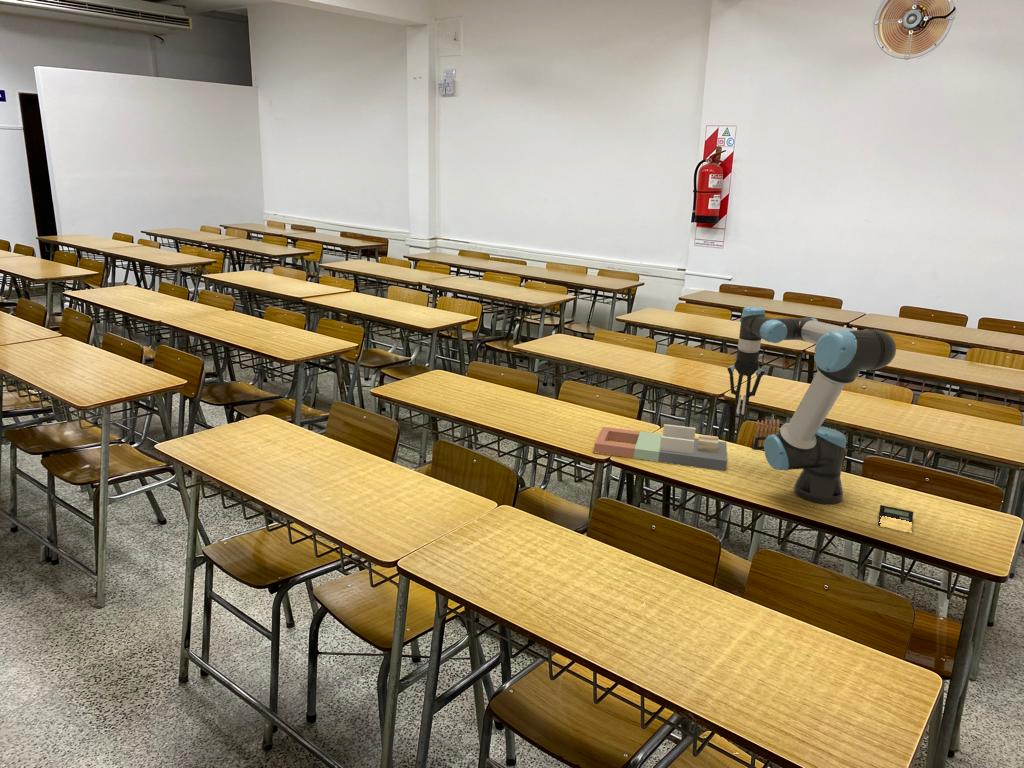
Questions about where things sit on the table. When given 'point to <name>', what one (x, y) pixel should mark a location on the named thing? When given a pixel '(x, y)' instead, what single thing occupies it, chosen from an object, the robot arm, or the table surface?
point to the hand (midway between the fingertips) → (740, 412)
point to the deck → (661, 447)
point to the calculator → (895, 513)
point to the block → (708, 443)
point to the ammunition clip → (763, 433)
